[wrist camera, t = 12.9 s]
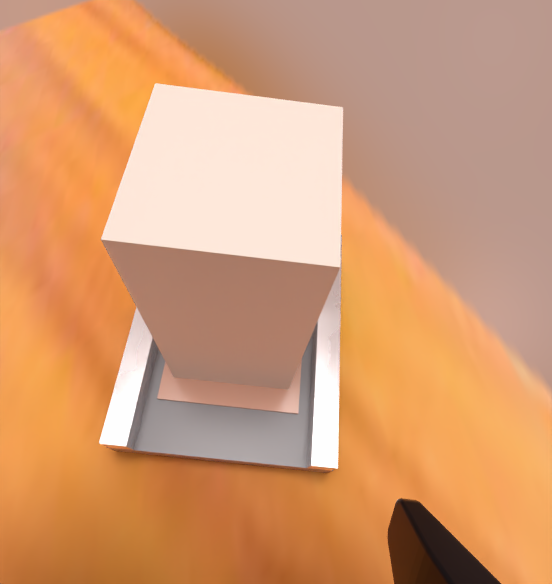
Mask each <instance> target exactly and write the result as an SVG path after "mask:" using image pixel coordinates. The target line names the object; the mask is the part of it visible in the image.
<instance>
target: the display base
mask: <svg viewBox="0 0 552 584" xmlns="http://www.w3.org/2000/svg"><path fill="white" fill-rule="evenodd" d="M341 248H342V235H341ZM340 306H341V257H340V269H339V272H338V274H337V276H336V279H335V281H334V283H333V286H332V288H331V290H330V293H329V295H328V298H327V300H326V302H325V305H324V307H323V309H322V312H321V314H320V316H319V319H318V321H317V323H316V326H315V328H314V331H313V333H312V335H311V338H310V340H309V342H308V345H307V347H306V349H305V352H304V354H303V356H302V359H301V361H300V363H299V366H298V368H297V371H296V373H295V375H294V378H293V380H292V382H291V385H290V387H289V389H279V388H269V387H260V386H251V385H242V384H232V383H223V382H214V381H204V380H195V379H186V378H176V377H173V375H172V373H171V371H170V369H169V367H168V365H167V364H166V362H165V360H164V358H163V356H162V354H161V352H160V350H159V348H158V347H157V345H156V343H155V341H154V339H153V337H152V335H151V333H150V331H149V329H148V328H147V326H146V324H145V322H144V320H143V318H142V316H141V314H140V312H139V311H138V309H137V307H136V311H135V315H134V318H133V322H132V326H131V329H130V333H129V336H128V340H127V344H126V347H125V351H124V355H123V358H122V362H121V366H120V369H119V373H118V376H117V380H116V384H115V387H114V391H113V395H112V398H111V402H110V406H109V409H108V413H107V416H106V420H105V424H104V427H103V431H102V435H101V438H100V442H99V444H101V445H104V446H106V447H107V448H109V449H112V450H114V451H121V452H131V453H140V454H150V455H160V456H169V457H179V458H189V459H198V460H208V461H218V462H227V463H237V464H247V465H256V466H266V467H276V468H285V469H295V470H305V471H314V472H324V473H328V472H331V471H333V470H334V469H337V468H338V422H339V364H340Z"/></svg>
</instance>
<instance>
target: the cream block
mask: <svg viewBox="0 0 552 584" xmlns="http://www.w3.org/2000/svg"><path fill="white" fill-rule="evenodd" d="M342 134H343V108H342V107H336V106H328V105H320V104H313V103H305V102H297V101H289V100H281V99H274V98H265V97H258V96H250V95H242V94H234V93H227V92H219V91H211V90H203V89H195V88H188V87H180V86H172V85H164V84H156V83H155V86H154V89H153V91H152V94H151V97H150V100H149V103H148V106H147V109H146V112H145V114H144V117H143V120H142V123H141V126H140V129H139V132H138V135H137V137H136V140H135V143H134V146H133V149H132V152H131V155H130V158H129V160H128V163H127V166H126V169H125V172H124V175H123V178H122V181H121V183H120V186H119V189H118V192H117V195H116V198H115V201H114V204H113V206H112V209H111V212H110V215H109V218H108V221H107V224H106V227H105V229H104V232H103V235H102V238H101V240H102V242H103V244H104V246H105V248H106V250H107V252H108V254H109V256H110V257H111V259H112V261H113V263H114V265H115V267H116V269H117V271H118V273H119V275H120V276H121V278H122V280H123V282H124V284H125V286H126V288H127V290H128V292H129V293H130V295H131V297H132V299H133V301H134V303H135V305H136V307H137V309H138V311H139V312H140V314H141V316H142V318H143V320H144V322H145V324H146V326H147V328H148V329H149V331H150V333H151V335H152V337H153V339H154V341H155V343H156V345H157V347H158V348H159V350H160V352H161V354H162V356H163V358H164V360H165V362H166V364H167V365H168V367H169V369H170V371H171V373H172V375H173V377H176V378H186V379H195V380H204V381H214V382H223V383H232V384H242V385H251V386H260V387H269V388H279V389H289V387H290V385H291V382H292V380H293V378H294V375H295V373H296V371H297V368H298V366H299V363H300V361H301V359H302V356H303V354H304V352H305V349H306V347H307V345H308V342H309V340H310V338H311V335H312V333H313V331H314V328H315V326H316V323H317V321H318V319H319V316H320V314H321V312H322V309H323V307H324V305H325V302H326V300H327V298H328V295H329V293H330V290H331V288H332V286H333V283H334V281H335V279H336V276H337V274H338V272H339V269H340V257H341V197H342V137H343V135H342Z"/></svg>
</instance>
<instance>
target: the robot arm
mask: <svg viewBox="0 0 552 584" xmlns="http://www.w3.org/2000/svg"><path fill="white" fill-rule="evenodd" d="M388 545H389V552H390V558H391V565H392V572H393V578H394V584H501V583H500V582H499V581H498V580H497V579H496V578H495V577H494V576H493V575H492V574H491V573H490V572H489V571H488V570H487V569H486V568H485V567H484V566H483V565H482V564H481V563H480V562H479V561H478V560H477V559H476V558H475V557H474V556H473V555H472V554H471V553H470V552H469V551H468V550H467V549H466V548H465V547H464V546H463V545H462V544H461V543H460V542H459V541H458V540H457V539H456V538H455V537H454V536H453V535H452V534H451V533H450V532H449V531H448V530H447V529H446V528H445V527H444V526H443V525H442V524H441V523H440V522H439V521H438V520H437V519H436V518H435V517H434V516H433V515H432V514H431V513H430V512H429V511H428V510H427V509H426V508H425V507H424V506H423V505H422V504H421V503H420V502H418V501H416V500H410V499H402V498H401V499H398V500H397V502H396V504H395V507H394V511H393V514H392V518H391V521H390V525H389V528H388Z"/></svg>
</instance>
